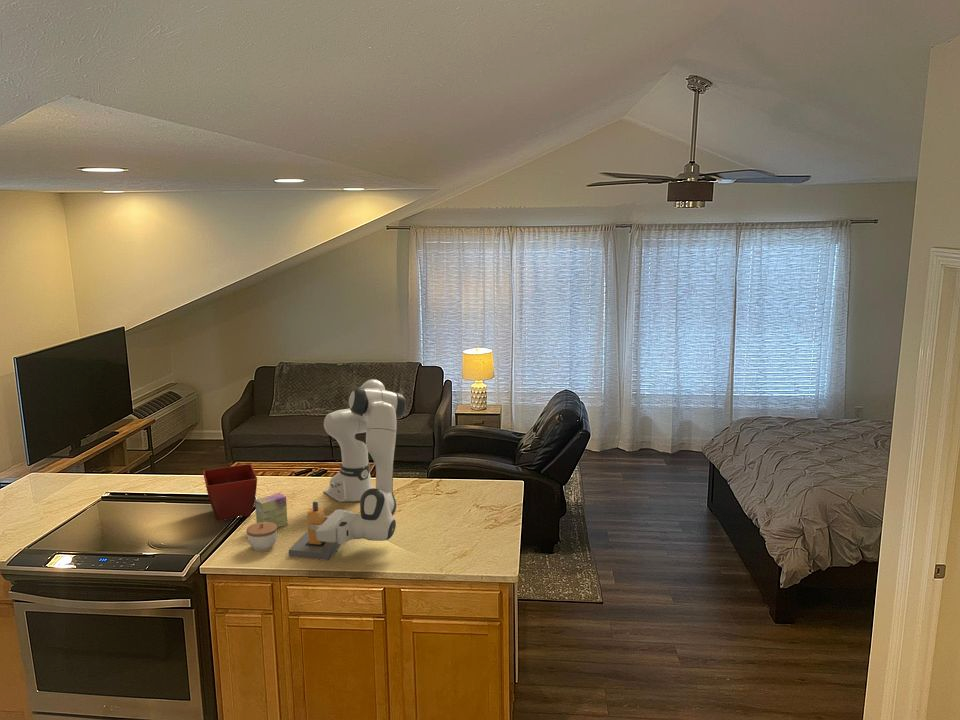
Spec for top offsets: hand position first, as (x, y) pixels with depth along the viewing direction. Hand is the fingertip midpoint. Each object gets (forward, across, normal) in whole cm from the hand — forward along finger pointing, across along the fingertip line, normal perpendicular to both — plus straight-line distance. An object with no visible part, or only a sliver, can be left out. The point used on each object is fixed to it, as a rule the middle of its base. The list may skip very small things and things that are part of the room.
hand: (313, 523), depth 265 cm
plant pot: (+46, -24, +10) cm, 52 cm away
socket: (-1, 0, +10) cm, 10 cm away
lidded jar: (+19, +3, +10) cm, 22 cm away
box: (+24, -15, +10) cm, 30 cm away
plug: (-1, 0, +7) cm, 7 cm away
